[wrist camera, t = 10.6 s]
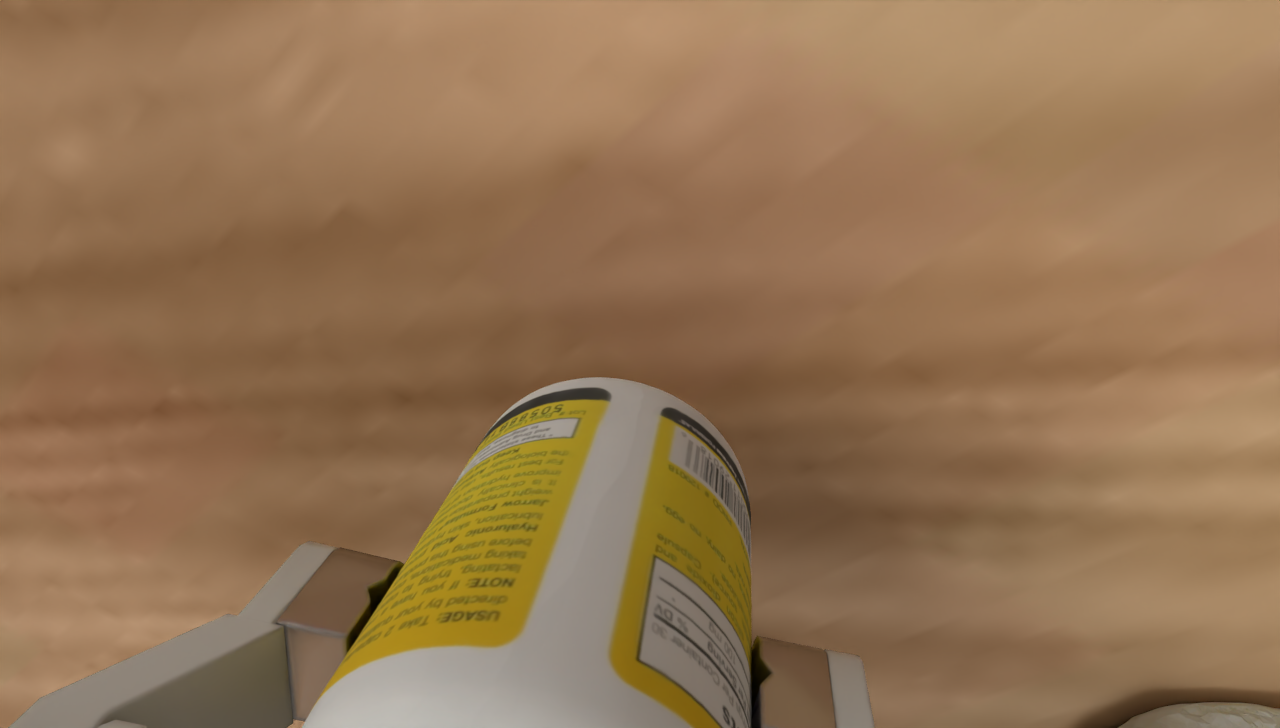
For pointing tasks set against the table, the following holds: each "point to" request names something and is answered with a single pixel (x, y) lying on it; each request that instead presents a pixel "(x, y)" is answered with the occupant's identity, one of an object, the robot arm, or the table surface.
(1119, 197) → the table surface
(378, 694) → the supplement bottle
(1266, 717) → the bread roll
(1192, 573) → the table surface
